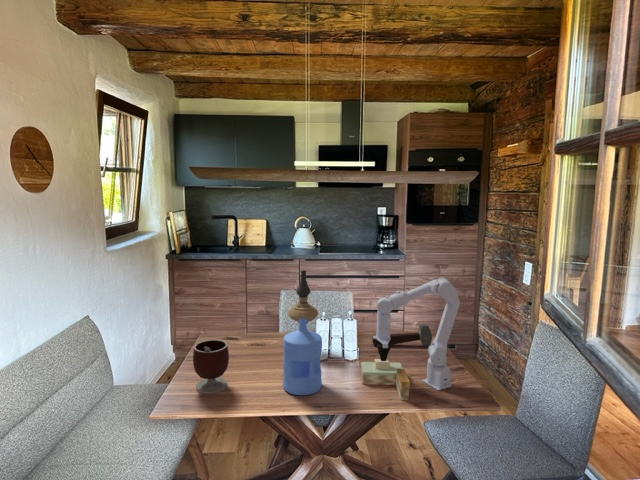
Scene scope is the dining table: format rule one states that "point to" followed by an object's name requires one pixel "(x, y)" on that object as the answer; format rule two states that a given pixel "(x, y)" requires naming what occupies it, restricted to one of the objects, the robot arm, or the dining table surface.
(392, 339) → the hammer
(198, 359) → the mate gourd
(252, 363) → the dining table surface
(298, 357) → the water jug
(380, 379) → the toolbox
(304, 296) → the oil lamp
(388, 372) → the lid
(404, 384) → the golden block
